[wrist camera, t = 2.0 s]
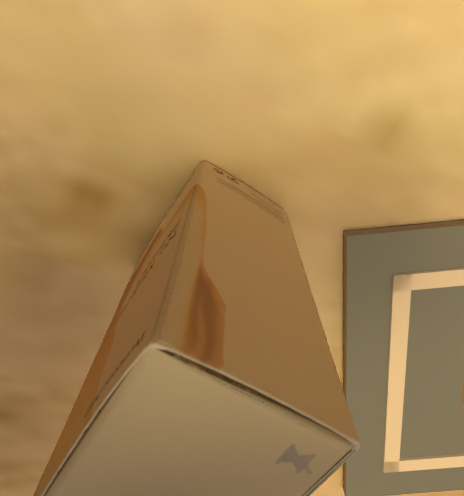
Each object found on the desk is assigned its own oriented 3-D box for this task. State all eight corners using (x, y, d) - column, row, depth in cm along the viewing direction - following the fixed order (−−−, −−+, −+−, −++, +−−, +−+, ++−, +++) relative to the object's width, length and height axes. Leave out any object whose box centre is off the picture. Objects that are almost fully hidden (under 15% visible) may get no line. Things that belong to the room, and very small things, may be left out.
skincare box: (201, 155, 18) (155, 319, 6) (289, 210, 19) (382, 438, 7) (128, 275, 20) (-5, 558, 8) (210, 319, 21) (188, 626, 9)
